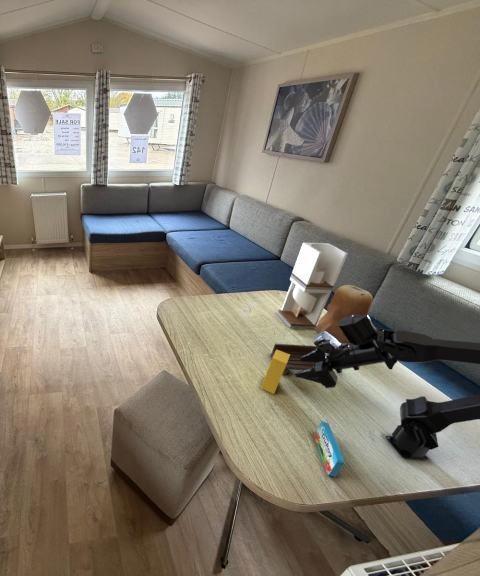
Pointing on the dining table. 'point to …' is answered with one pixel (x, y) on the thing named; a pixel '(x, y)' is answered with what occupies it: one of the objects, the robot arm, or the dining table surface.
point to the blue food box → (328, 449)
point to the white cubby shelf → (311, 284)
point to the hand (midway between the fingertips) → (298, 367)
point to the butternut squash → (344, 310)
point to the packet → (275, 371)
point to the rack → (295, 356)
